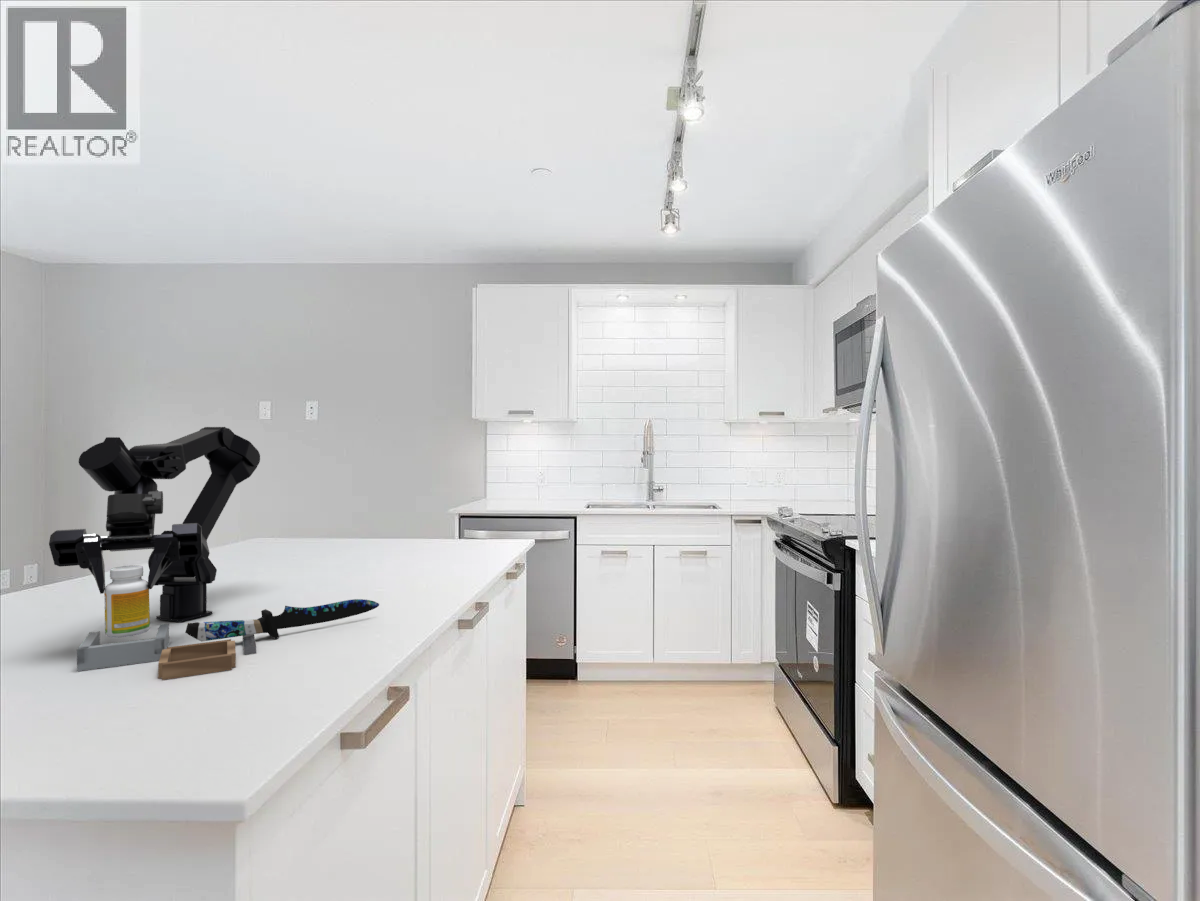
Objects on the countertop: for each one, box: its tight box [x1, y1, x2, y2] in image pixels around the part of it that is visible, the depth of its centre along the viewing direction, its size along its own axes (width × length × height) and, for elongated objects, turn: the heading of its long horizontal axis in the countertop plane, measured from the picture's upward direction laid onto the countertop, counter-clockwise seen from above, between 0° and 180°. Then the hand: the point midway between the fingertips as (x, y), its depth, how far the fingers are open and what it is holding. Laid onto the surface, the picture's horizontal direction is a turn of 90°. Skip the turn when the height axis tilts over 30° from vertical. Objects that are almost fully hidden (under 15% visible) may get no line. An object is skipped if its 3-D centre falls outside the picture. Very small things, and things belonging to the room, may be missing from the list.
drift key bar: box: [242, 634, 257, 655], centre depth 101 cm, size 8×2×1 cm, turn 30°
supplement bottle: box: [103, 564, 151, 638], centre depth 96 cm, size 5×5×10 cm
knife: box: [185, 598, 380, 643], centre depth 108 cm, size 31×3×4 cm, turn 132°
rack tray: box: [76, 623, 170, 672], centre depth 96 cm, size 10×10×3 cm
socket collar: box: [157, 638, 237, 681], centre depth 92 cm, size 9×9×2 cm
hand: (125, 589), depth 95 cm, fingers closed on supplement bottle, 5 cm apart
